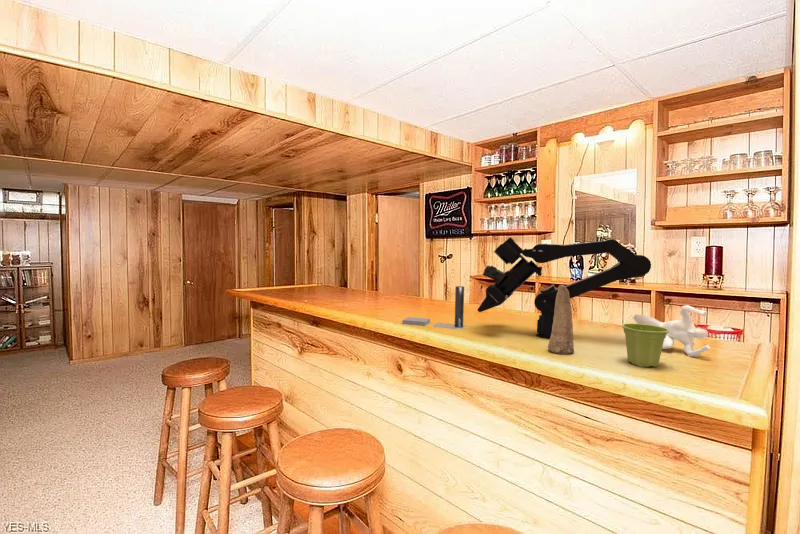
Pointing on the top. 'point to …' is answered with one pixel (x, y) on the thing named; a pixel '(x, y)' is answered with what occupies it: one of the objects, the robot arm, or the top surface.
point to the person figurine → (679, 330)
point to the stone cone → (562, 324)
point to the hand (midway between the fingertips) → (481, 308)
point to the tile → (416, 321)
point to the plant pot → (644, 343)
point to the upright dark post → (456, 311)
